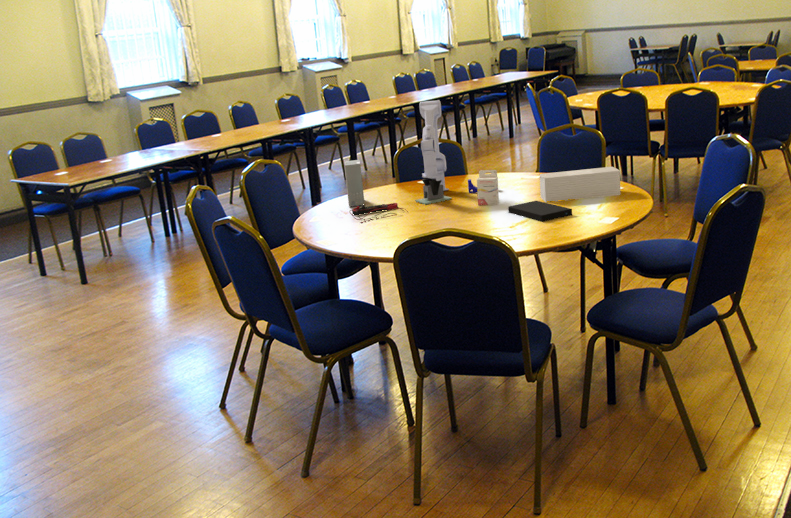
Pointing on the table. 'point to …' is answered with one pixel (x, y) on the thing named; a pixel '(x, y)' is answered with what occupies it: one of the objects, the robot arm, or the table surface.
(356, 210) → the digital clamp meter
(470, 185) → the cable clip
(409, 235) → the table surface
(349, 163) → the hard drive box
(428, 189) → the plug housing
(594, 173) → the long white block
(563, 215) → the external hard drive
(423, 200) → the board
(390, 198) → the table surface
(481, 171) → the ink cartridge box
